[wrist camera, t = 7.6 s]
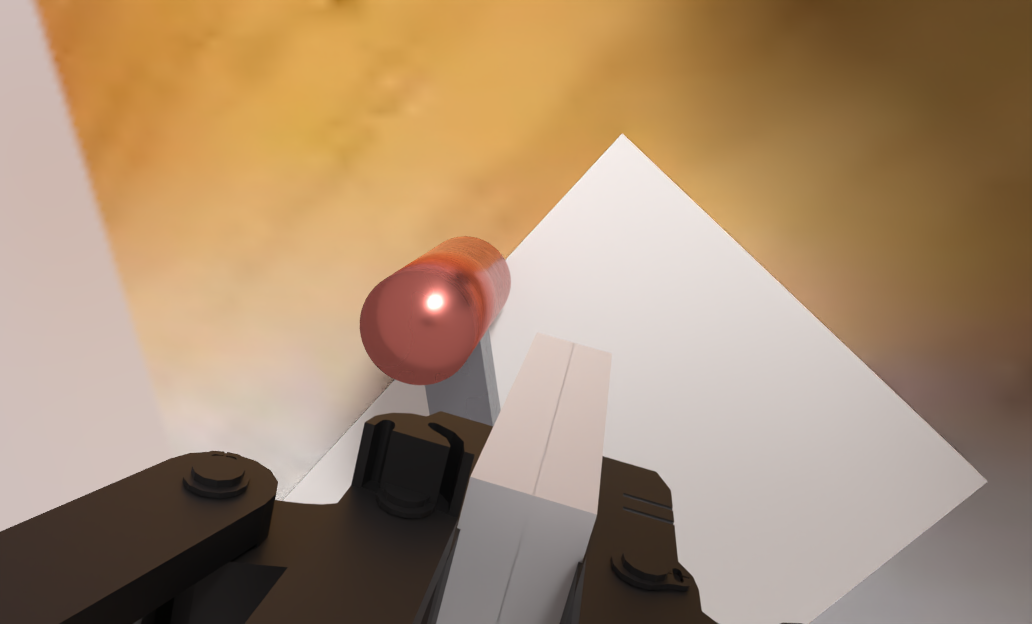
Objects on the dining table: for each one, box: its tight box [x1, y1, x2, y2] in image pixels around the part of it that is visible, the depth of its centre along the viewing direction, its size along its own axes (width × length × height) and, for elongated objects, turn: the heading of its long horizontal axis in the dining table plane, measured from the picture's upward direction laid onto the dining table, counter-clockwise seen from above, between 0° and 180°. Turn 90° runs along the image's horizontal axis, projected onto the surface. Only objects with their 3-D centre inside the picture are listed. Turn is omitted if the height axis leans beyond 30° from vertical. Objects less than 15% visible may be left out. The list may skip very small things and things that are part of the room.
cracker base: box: [283, 133, 988, 624], centre depth 31 cm, size 22×18×4 cm
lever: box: [360, 236, 511, 426], centre depth 27 cm, size 22×4×7 cm, turn 8°
